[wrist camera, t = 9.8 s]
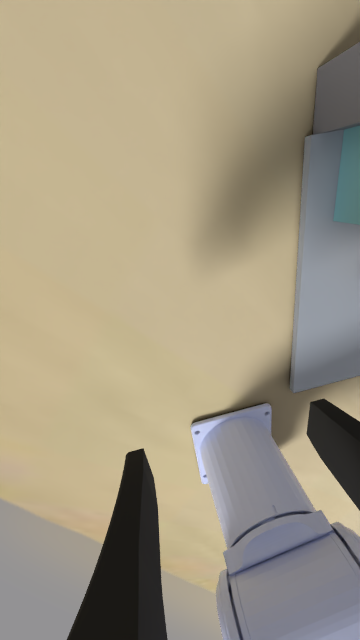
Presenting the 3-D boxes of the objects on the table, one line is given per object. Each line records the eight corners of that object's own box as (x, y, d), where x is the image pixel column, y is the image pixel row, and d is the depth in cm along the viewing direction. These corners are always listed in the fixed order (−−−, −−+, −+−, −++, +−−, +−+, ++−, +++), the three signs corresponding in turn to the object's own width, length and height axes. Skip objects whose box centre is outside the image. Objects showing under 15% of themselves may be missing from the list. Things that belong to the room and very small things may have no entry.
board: (383, 363, 26) (389, 367, 25) (289, 389, 25) (293, 393, 24) (452, 111, 16) (463, 109, 16) (305, 137, 15) (311, 135, 15)
